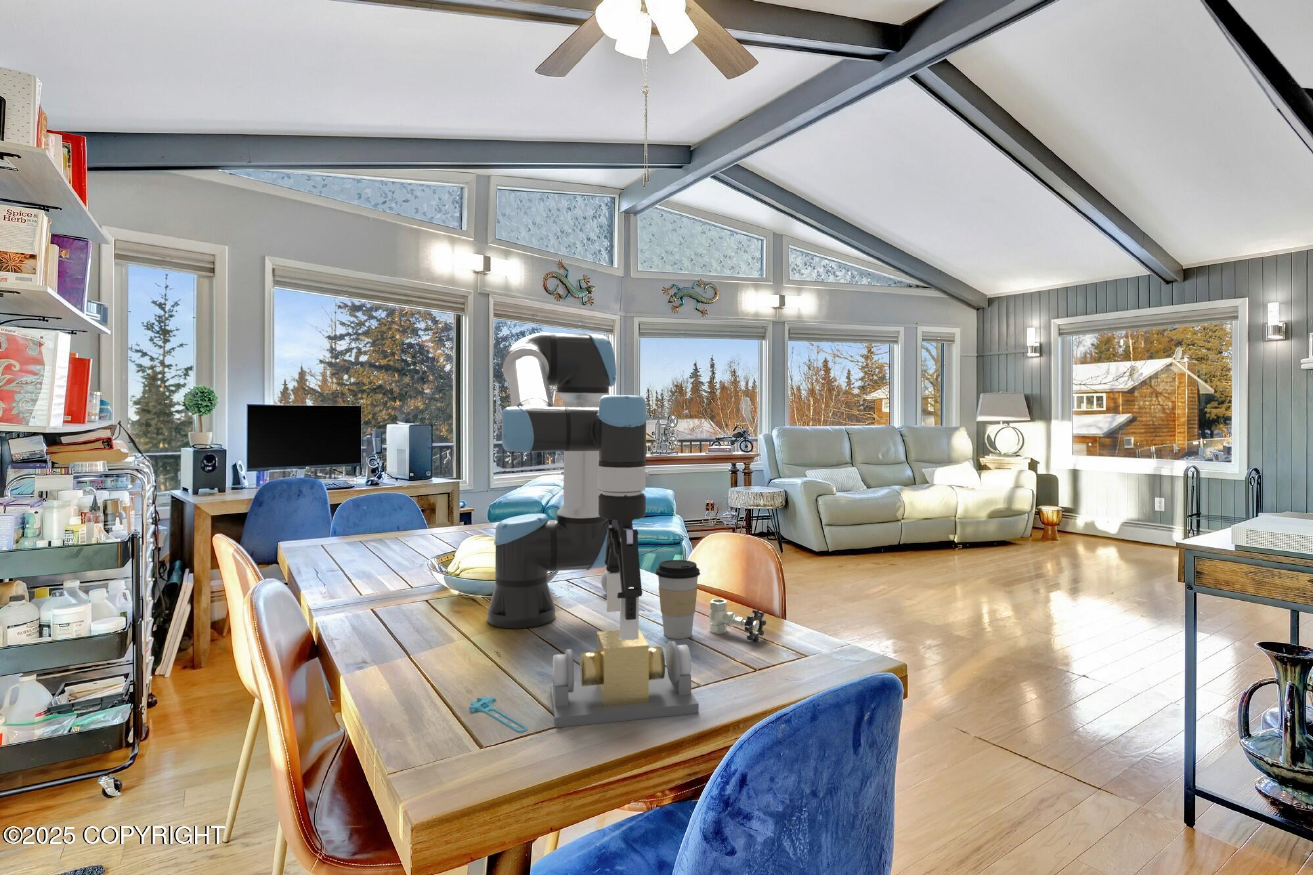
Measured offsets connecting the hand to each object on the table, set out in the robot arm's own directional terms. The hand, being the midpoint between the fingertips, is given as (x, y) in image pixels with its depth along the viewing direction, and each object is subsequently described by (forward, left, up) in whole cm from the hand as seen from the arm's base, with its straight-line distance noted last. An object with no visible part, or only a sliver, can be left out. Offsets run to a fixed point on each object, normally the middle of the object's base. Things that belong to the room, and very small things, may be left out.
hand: (621, 624), depth 103 cm
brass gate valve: (0, 0, -11) cm, 11 cm away
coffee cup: (-30, +17, -13) cm, 37 cm away
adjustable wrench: (+1, -19, -13) cm, 23 cm away
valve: (-27, +28, -13) cm, 41 cm away
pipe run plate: (0, 0, -13) cm, 13 cm away
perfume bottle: (-64, +10, -13) cm, 66 cm away
